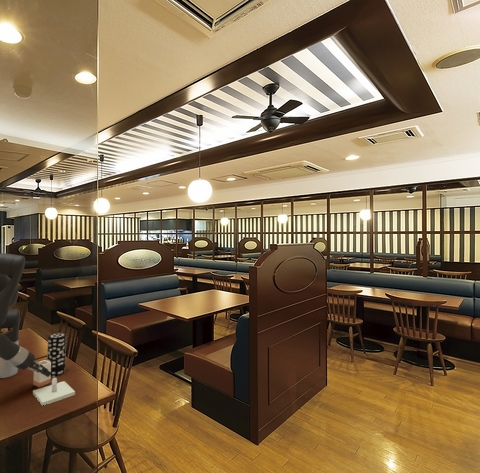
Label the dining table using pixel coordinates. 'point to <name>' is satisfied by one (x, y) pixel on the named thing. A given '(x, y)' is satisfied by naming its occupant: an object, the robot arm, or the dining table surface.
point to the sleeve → (40, 378)
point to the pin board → (53, 392)
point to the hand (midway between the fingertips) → (46, 373)
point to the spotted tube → (57, 353)
